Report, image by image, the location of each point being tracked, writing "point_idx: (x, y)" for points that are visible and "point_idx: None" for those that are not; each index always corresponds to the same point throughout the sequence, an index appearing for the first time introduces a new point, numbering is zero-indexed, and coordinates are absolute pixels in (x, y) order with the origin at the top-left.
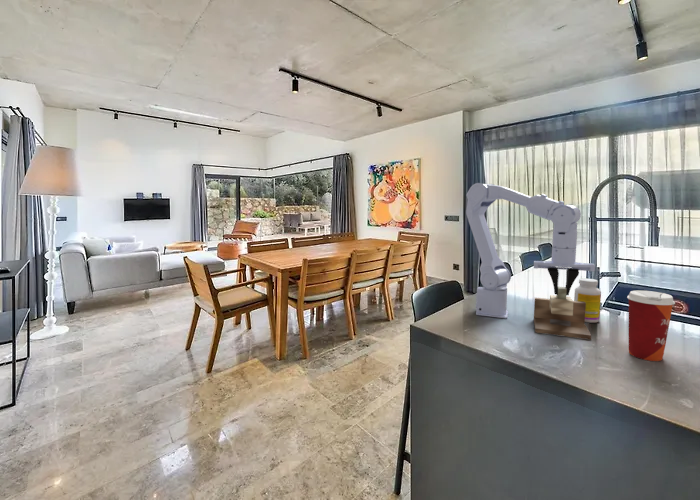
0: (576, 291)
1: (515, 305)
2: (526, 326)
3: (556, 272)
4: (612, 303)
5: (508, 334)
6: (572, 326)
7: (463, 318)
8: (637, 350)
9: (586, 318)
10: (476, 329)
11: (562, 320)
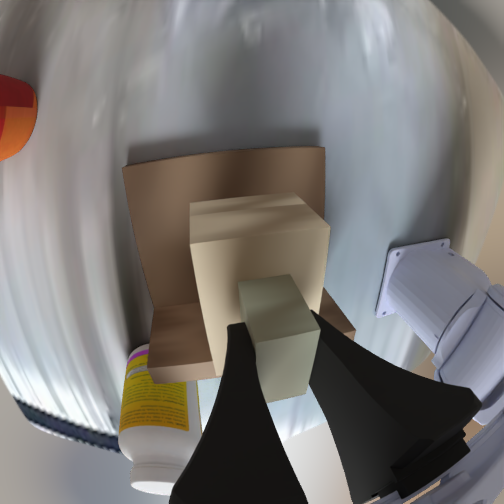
0: (196, 439)
1: None
2: (341, 201)
3: (445, 428)
4: None
5: (389, 94)
6: (189, 245)
7: (468, 196)
8: (15, 79)
9: None
10: (450, 115)
11: None
